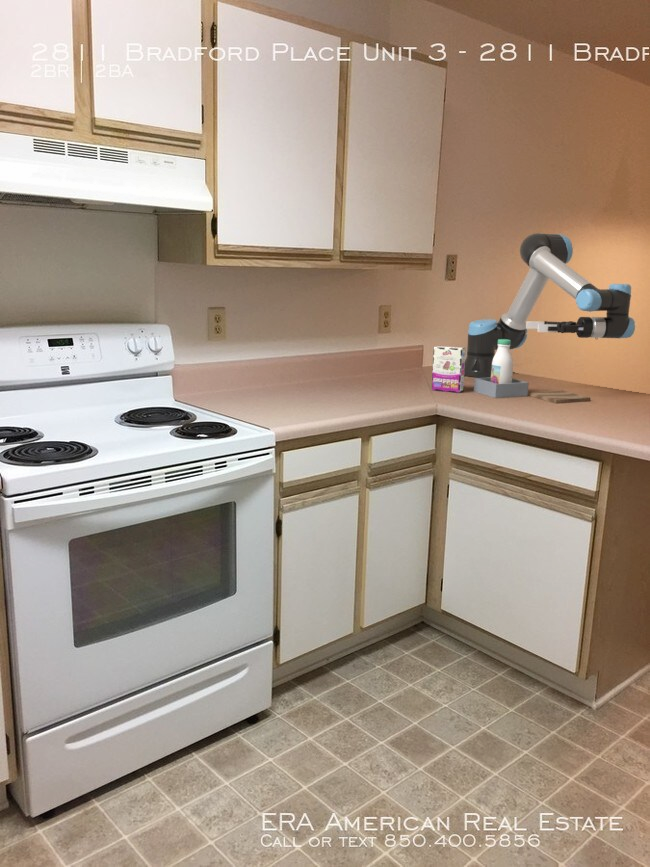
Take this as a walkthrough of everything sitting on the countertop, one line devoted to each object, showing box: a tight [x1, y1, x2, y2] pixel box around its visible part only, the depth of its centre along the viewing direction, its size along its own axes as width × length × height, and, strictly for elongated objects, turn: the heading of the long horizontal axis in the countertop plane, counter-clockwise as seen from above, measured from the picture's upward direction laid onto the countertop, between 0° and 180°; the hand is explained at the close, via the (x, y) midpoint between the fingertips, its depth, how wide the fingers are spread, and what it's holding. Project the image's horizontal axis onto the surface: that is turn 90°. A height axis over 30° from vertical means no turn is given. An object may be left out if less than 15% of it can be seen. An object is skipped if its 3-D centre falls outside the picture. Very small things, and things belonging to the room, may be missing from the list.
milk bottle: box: [490, 339, 514, 384], centre depth 267 cm, size 8×8×20 cm
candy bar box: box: [431, 345, 467, 394], centre depth 271 cm, size 11×5×16 cm, turn 62°
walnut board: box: [528, 390, 591, 404], centre depth 262 cm, size 15×15×1 cm
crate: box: [473, 377, 530, 399], centre depth 268 cm, size 14×14×5 cm
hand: (532, 326), depth 263 cm, fingers open, 13 cm apart
